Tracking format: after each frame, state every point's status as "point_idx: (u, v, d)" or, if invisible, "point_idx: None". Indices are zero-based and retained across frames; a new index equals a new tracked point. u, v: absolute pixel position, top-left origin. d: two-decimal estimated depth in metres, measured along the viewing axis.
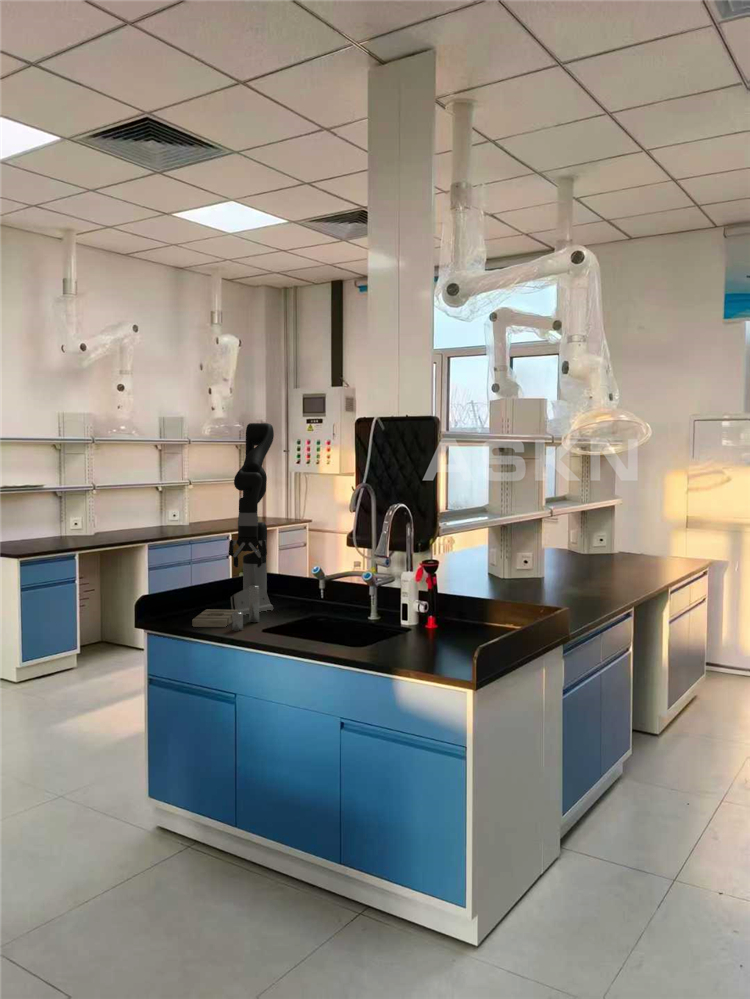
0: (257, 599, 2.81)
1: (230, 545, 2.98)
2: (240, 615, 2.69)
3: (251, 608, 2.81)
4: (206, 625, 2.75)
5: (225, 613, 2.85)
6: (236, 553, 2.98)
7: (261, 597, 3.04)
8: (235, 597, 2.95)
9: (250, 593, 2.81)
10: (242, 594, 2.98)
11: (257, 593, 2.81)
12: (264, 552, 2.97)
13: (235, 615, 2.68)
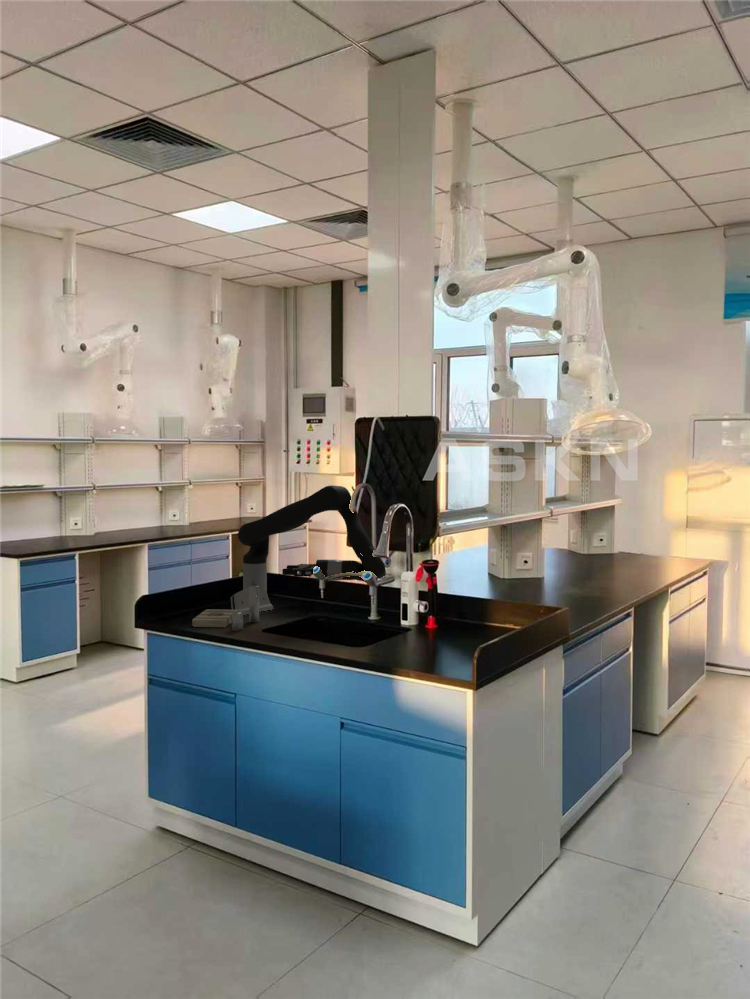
0: (257, 599, 2.81)
1: None
2: (240, 615, 2.69)
3: (251, 608, 2.81)
4: (206, 625, 2.75)
5: (225, 613, 2.85)
6: (297, 575, 2.77)
7: (261, 597, 3.04)
8: (235, 597, 2.96)
9: (250, 593, 2.81)
10: (242, 594, 2.98)
11: (257, 593, 2.81)
12: None
13: (235, 615, 2.68)
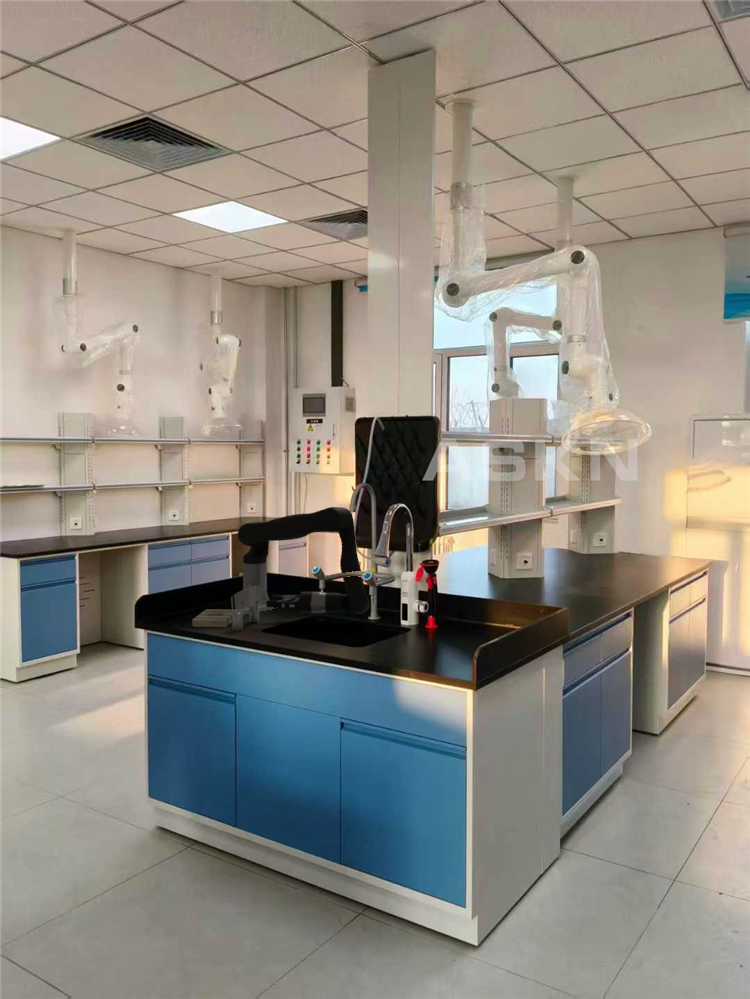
0: (257, 599, 2.81)
1: None
2: (240, 615, 2.69)
3: (251, 608, 2.81)
4: (206, 625, 2.75)
5: (225, 613, 2.85)
6: None
7: (261, 597, 3.04)
8: (235, 597, 2.96)
9: (250, 593, 2.81)
10: (242, 594, 2.98)
11: (257, 593, 2.81)
12: None
13: (235, 615, 2.68)
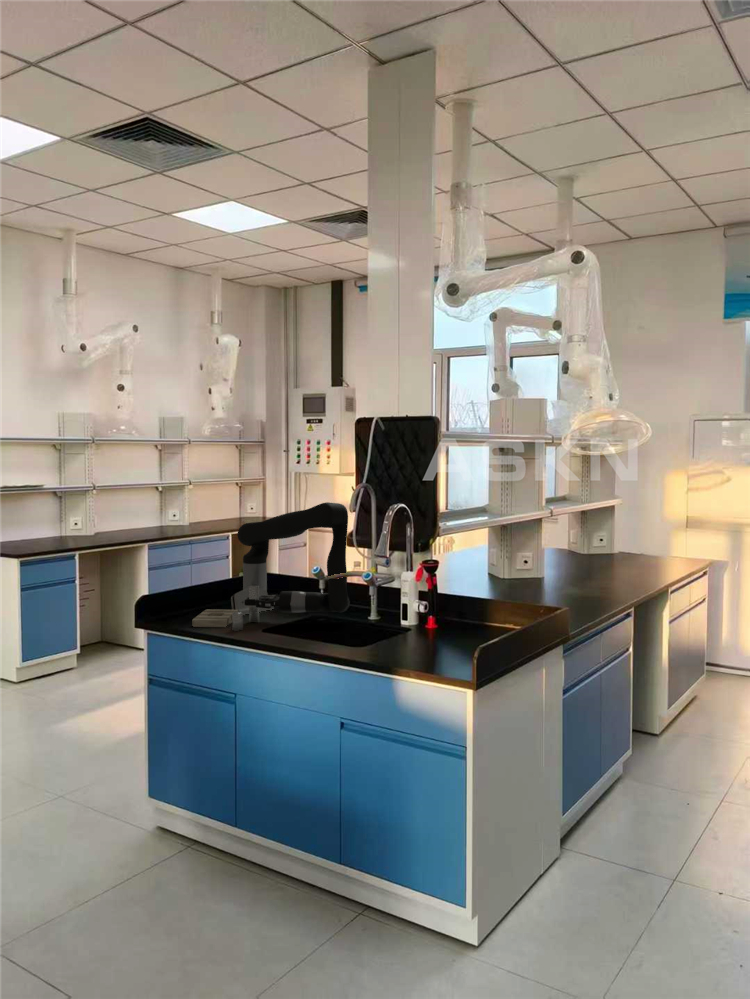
0: None
1: None
2: (240, 615, 2.69)
3: (251, 608, 2.81)
4: (206, 625, 2.75)
5: (225, 613, 2.85)
6: None
7: None
8: (235, 597, 2.96)
9: (250, 593, 2.81)
10: (242, 594, 2.98)
11: (257, 593, 2.81)
12: None
13: (235, 615, 2.68)
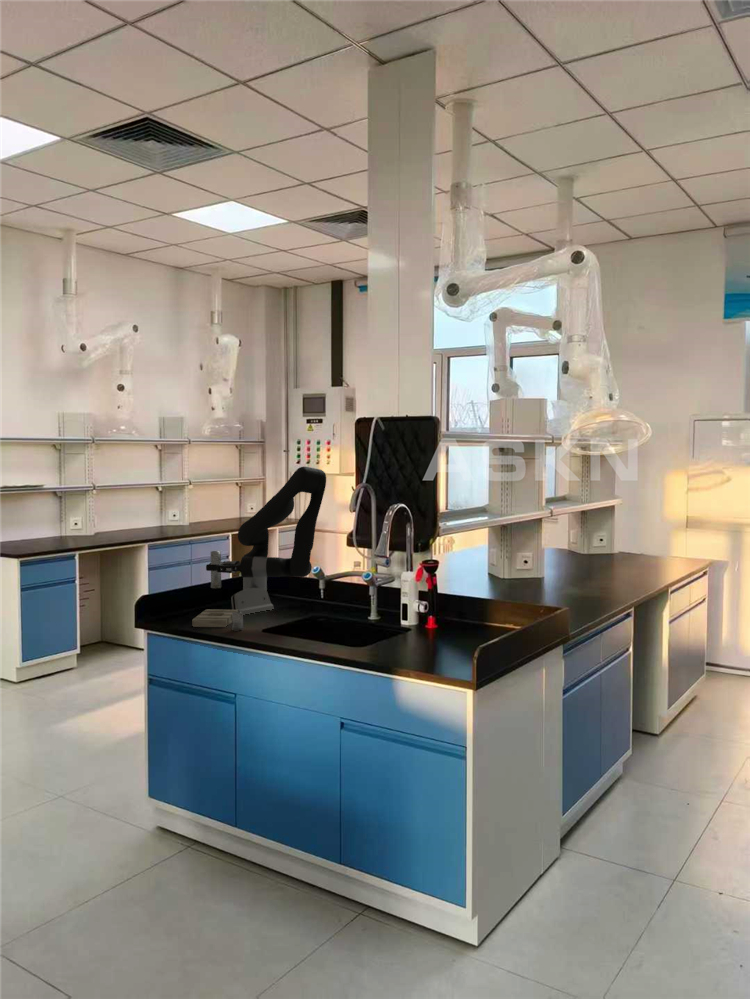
0: None
1: None
2: (240, 615, 2.69)
3: (213, 573, 2.81)
4: (206, 625, 2.75)
5: (225, 613, 2.85)
6: (221, 570, 2.81)
7: (262, 597, 3.04)
8: (236, 597, 2.96)
9: (212, 558, 2.81)
10: (243, 594, 2.98)
11: (218, 558, 2.81)
12: None
13: (235, 615, 2.68)
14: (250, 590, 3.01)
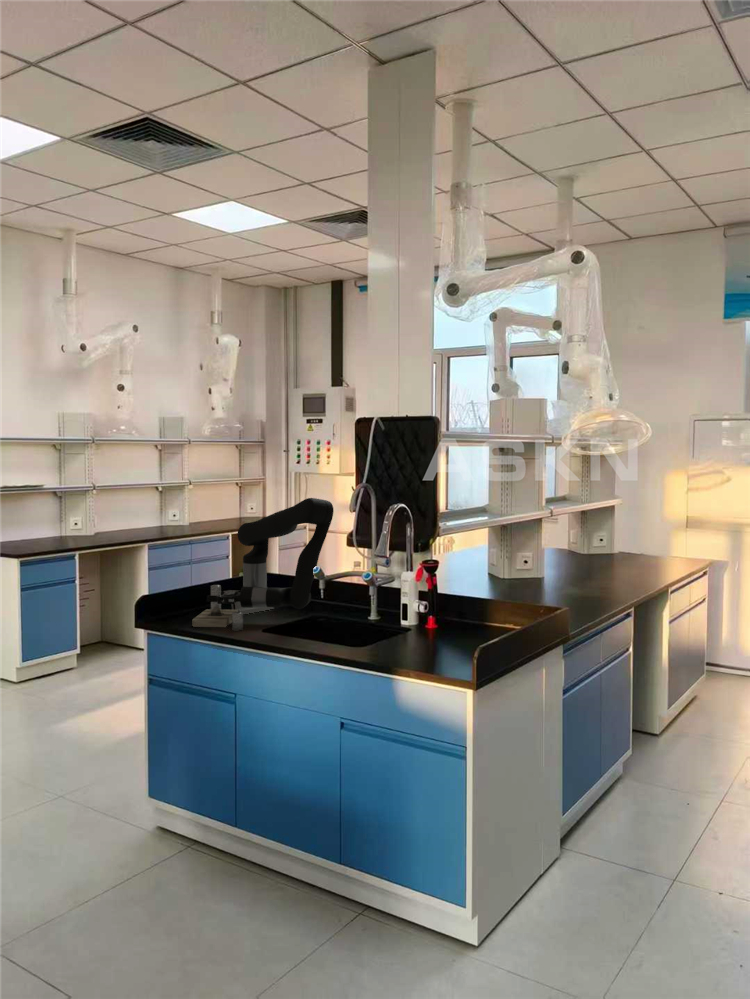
0: None
1: None
2: (240, 615, 2.69)
3: (213, 607, 2.82)
4: (206, 625, 2.75)
5: (225, 613, 2.85)
6: None
7: None
8: None
9: (212, 593, 2.82)
10: None
11: (218, 592, 2.82)
12: None
13: (235, 615, 2.68)
14: None
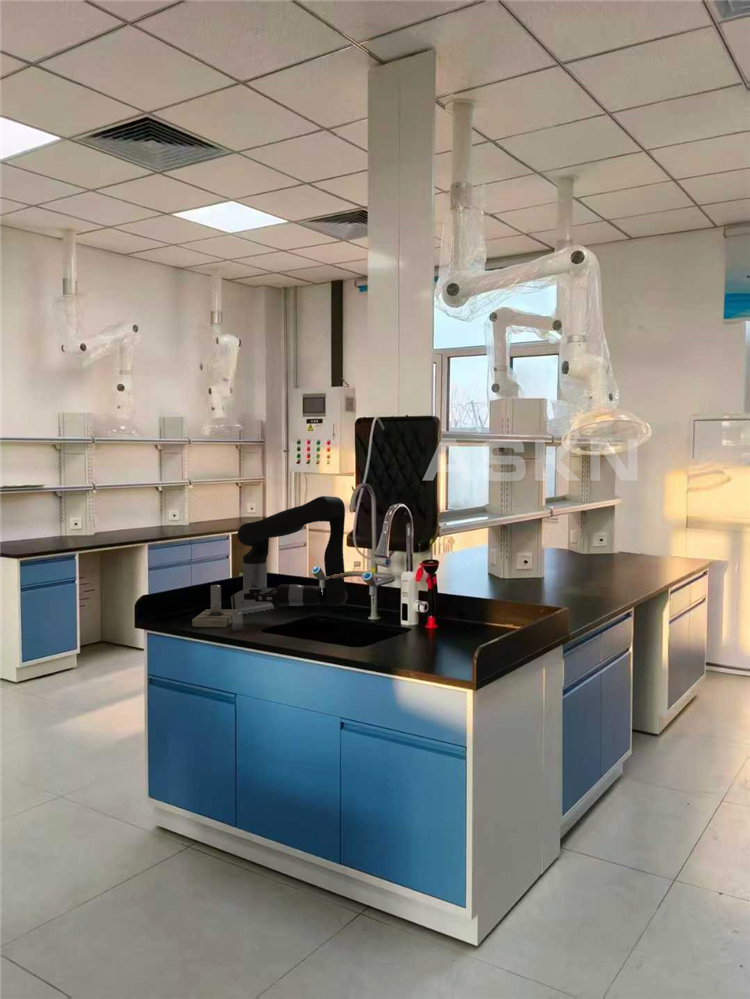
0: (219, 599, 2.82)
1: None
2: (240, 615, 2.69)
3: (213, 607, 2.82)
4: (206, 625, 2.75)
5: (225, 613, 2.85)
6: None
7: None
8: (235, 596, 2.97)
9: (212, 593, 2.82)
10: (242, 593, 2.99)
11: (218, 592, 2.82)
12: None
13: (235, 615, 2.68)
14: None
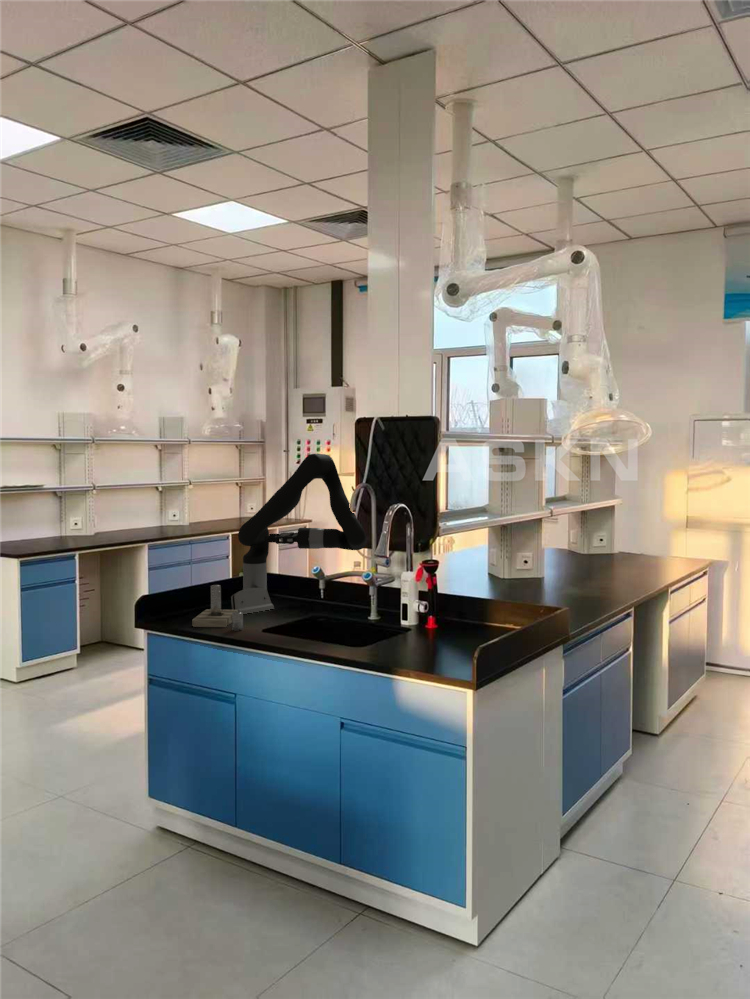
0: (219, 599, 2.82)
1: None
2: (240, 615, 2.69)
3: (213, 607, 2.82)
4: (206, 625, 2.75)
5: (225, 613, 2.85)
6: None
7: (262, 597, 3.05)
8: (235, 596, 2.97)
9: (212, 593, 2.82)
10: (242, 593, 2.99)
11: (218, 592, 2.82)
12: None
13: (235, 615, 2.68)
14: (250, 590, 3.02)
